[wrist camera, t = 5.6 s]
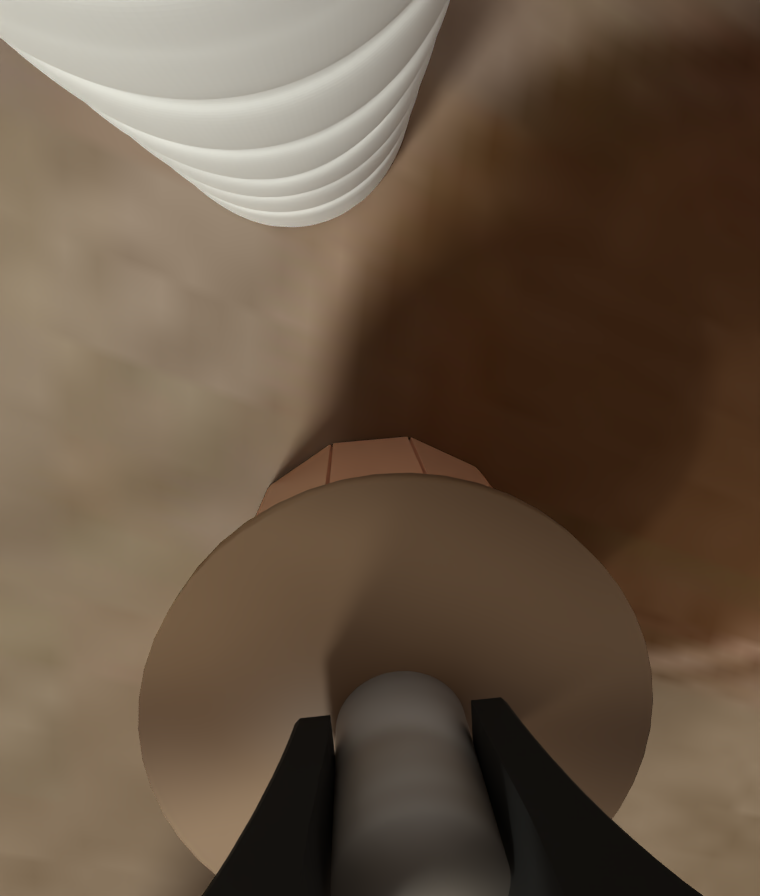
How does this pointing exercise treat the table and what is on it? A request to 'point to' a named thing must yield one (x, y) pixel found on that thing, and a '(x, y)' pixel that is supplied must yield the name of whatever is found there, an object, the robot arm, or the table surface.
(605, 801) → the lid
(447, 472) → the bowl
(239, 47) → the water bottle
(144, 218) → the table surface
